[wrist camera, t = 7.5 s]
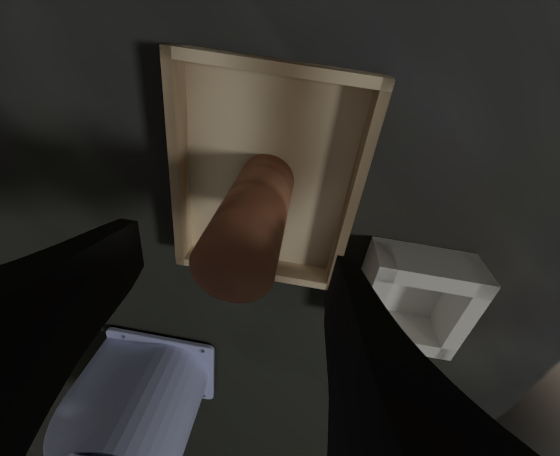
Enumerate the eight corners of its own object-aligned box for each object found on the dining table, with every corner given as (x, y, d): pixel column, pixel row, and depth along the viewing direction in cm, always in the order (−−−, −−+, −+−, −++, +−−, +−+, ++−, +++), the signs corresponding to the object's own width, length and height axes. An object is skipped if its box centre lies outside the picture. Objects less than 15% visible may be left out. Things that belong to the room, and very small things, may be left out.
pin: (240, 200, 18) (192, 296, 11) (241, 150, 17) (185, 228, 10) (291, 207, 18) (272, 308, 11) (296, 157, 16) (278, 241, 10)
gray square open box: (347, 308, 22) (350, 342, 20) (372, 236, 19) (379, 266, 16) (435, 323, 22) (450, 360, 20) (476, 253, 19) (501, 287, 16)
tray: (187, 245, 21) (176, 263, 19) (177, 43, 15) (159, 44, 13) (332, 270, 21) (333, 291, 19) (387, 74, 14) (395, 79, 13)
